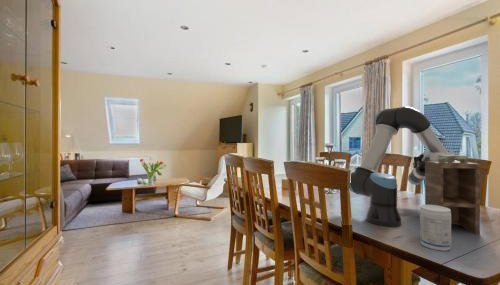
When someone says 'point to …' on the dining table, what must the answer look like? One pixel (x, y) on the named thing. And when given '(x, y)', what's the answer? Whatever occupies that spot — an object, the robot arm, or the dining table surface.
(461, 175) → the shelf
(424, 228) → the supplement tub
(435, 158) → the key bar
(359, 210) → the dining table surface
